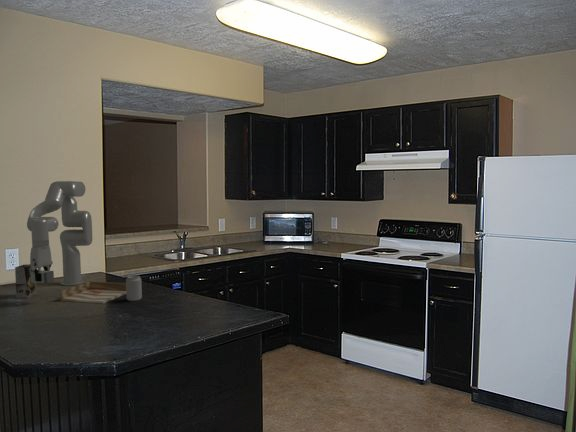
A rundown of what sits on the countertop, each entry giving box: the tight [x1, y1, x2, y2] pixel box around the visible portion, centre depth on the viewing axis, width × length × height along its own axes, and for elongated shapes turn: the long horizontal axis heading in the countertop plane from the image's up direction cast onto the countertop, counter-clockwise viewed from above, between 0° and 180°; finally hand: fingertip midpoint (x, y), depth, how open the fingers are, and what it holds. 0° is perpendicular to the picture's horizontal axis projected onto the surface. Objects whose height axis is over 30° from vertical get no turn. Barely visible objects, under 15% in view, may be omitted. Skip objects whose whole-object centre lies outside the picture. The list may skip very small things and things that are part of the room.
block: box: [31, 269, 55, 284], centre depth 252 cm, size 5×9×5 cm, turn 77°
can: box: [125, 275, 143, 302], centre depth 256 cm, size 8×8×12 cm
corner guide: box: [59, 281, 126, 304], centre depth 264 cm, size 24×24×5 cm
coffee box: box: [14, 263, 38, 299], centre depth 266 cm, size 9×6×16 cm
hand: (42, 279), depth 252 cm, fingers closed on block, 5 cm apart
